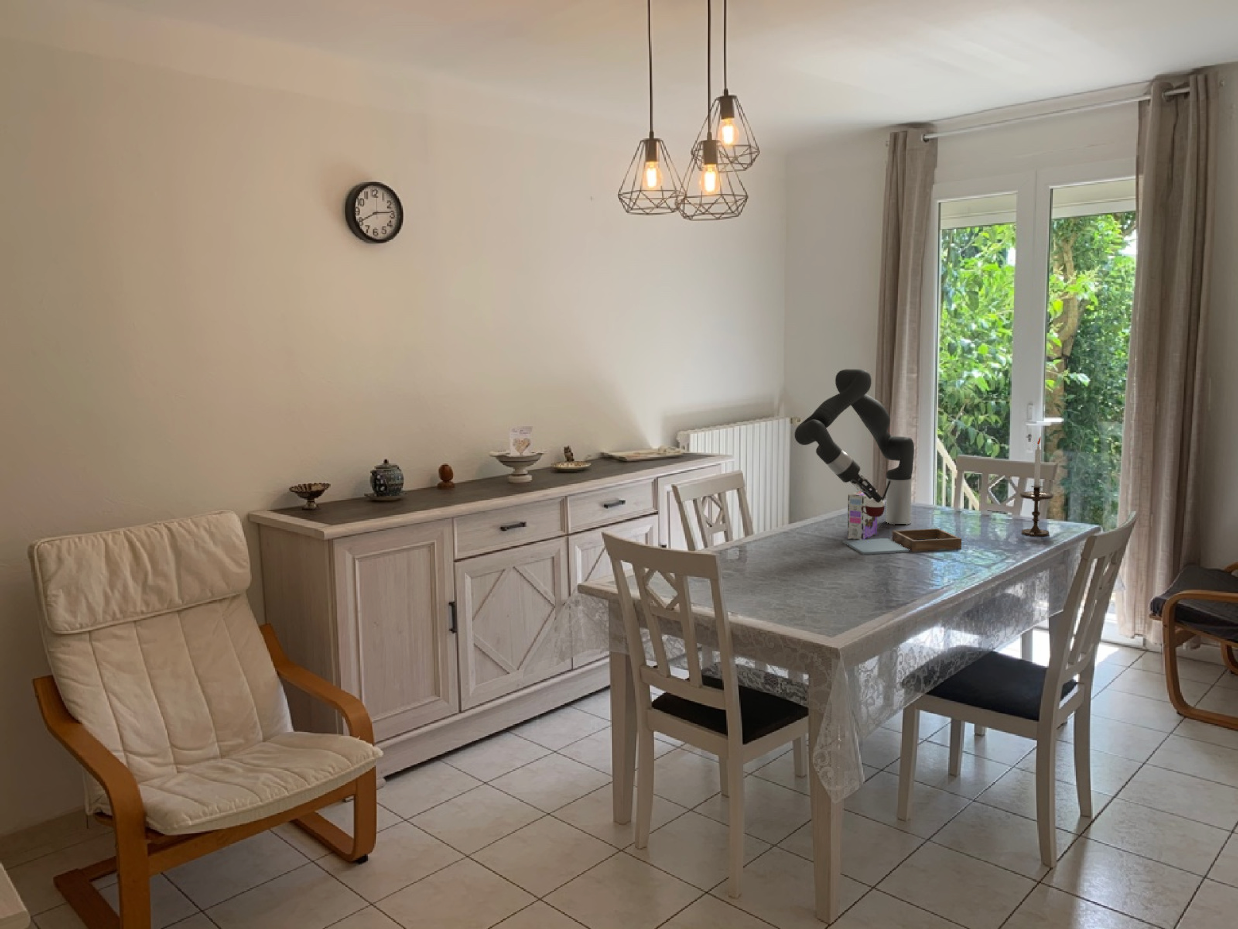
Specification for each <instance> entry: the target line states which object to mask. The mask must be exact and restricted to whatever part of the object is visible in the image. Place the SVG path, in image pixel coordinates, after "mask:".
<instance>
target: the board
mask: <svg viewBox="0 0 1238 929" xmlns="http://www.w3.org/2000/svg"><path fill="white" fill-rule="evenodd" d="M843 544H844V545H846V544H848V545H849V546H848V545H847V546H848V547H850V548H851V549H853V548H854V549H855V551H857V552H858V551H859V552H860V554H861V555H862V556H863V555H878V554H879V555H880V554H894V553H895V554H896V552H897V553H898V552H901V553H909V552H910V550H909V549H907V548H905V547H903V546H901V545H900V544H898V543H896V542H894V541H892V539H890V538H888V537H886V538H885V537H884V538H867V539H865V540H852V539H848V540H843ZM854 549H853V550H854ZM859 552H858V553H859Z"/></svg>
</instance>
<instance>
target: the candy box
mask: <svg viewBox="0 0 1238 929" xmlns="http://www.w3.org/2000/svg"><path fill="white" fill-rule="evenodd" d="M876 492H877V493H878V490H877V489H876ZM867 500H869V498H868V497H867V496H866V495H865V494H864V493H863V492H861V491H860V490H858V491H855V492H852V493H848V496H847V539H848V540H852V539H854V540H865V539H869V538H872V537H874V536H875V535H874V534H876V535H877V534H878V517H871V516H869V515H867V514H865V513H866V508H865V507H863V508H862V510H863V511H864V512H865V513H864V512H863V511H862V510H861V507H862V506H865V505H866V501H867ZM873 535H874V536H873ZM871 536H872V537H871ZM868 537H869V538H868Z"/></svg>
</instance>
